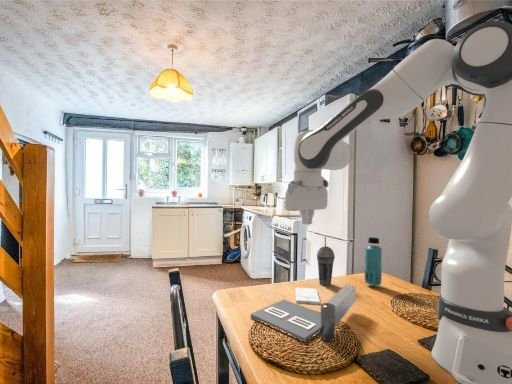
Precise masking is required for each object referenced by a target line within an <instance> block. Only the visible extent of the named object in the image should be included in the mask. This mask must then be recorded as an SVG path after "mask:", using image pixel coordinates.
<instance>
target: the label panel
mask: <svg viewBox="0 0 512 384" xmlns="http://www.w3.org/2000/svg"><path fill="white" fill-rule="evenodd" d="M250 319H252V320H254V321H256V320H260V321H263V322H265V323H268V324H270V325H272V326H274V327H277V328H279V329H281V330H283V331H285V332H287V333H289V334H291V335H293V336H294V337H296V338H298V339H300V340H302V341H304V342H305V341H306V340H308V339H309V338H311V337H312V336H313V335H314V334H316V333H317V332H318V331H319V330H320V322H321V311H317V310H314V309H312V308H309V307H305V306H303V305H300V304H299V303H296V302H292V301H288V300H286V299H282V300H279V301H277V302H275V303H273V304H270V305H268V306H266V307H264V308H261V309H259V310H256V311H254V312H252V313H250ZM312 338H313V337H312ZM312 338H311V339H312ZM302 341H301V342H302ZM308 341H309V340H308ZM304 342H303V343H304ZM305 343H306V342H305Z"/></svg>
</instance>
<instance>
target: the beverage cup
mask: <svg viewBox="0 0 512 384" xmlns="http://www.w3.org/2000/svg"><path fill="white" fill-rule="evenodd" d="M335 258H336V257H335V252H334V250H333V249H332V248H331V247H330V246H327V237H326V235H325V236H324V246H322V247H320V248H319V249H318V250H317V253H316V260H317V267H318V282H319V285H320V286H323V287H329V286H331V285H332V283H331V282H332V279H333V270H334V269H333V267H334V261H335Z"/></svg>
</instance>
